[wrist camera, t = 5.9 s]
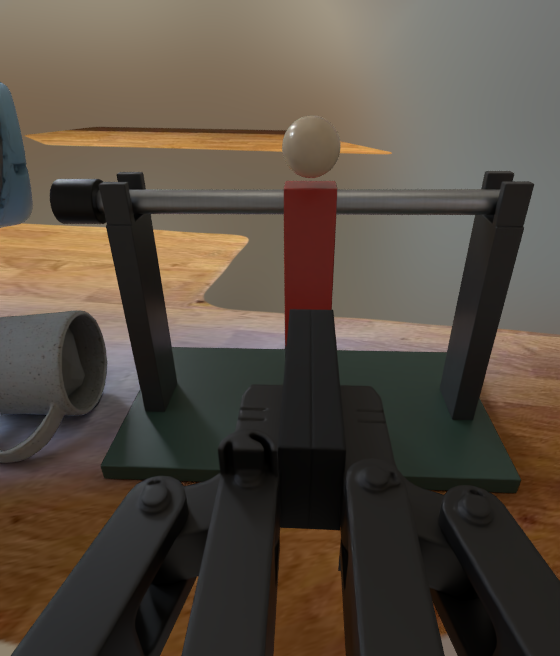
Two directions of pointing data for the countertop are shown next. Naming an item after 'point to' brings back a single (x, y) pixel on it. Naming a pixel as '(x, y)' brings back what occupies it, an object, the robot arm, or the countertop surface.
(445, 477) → the foosball frame
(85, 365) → the ceramic mug
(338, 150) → the foosball rod
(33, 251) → the countertop surface
